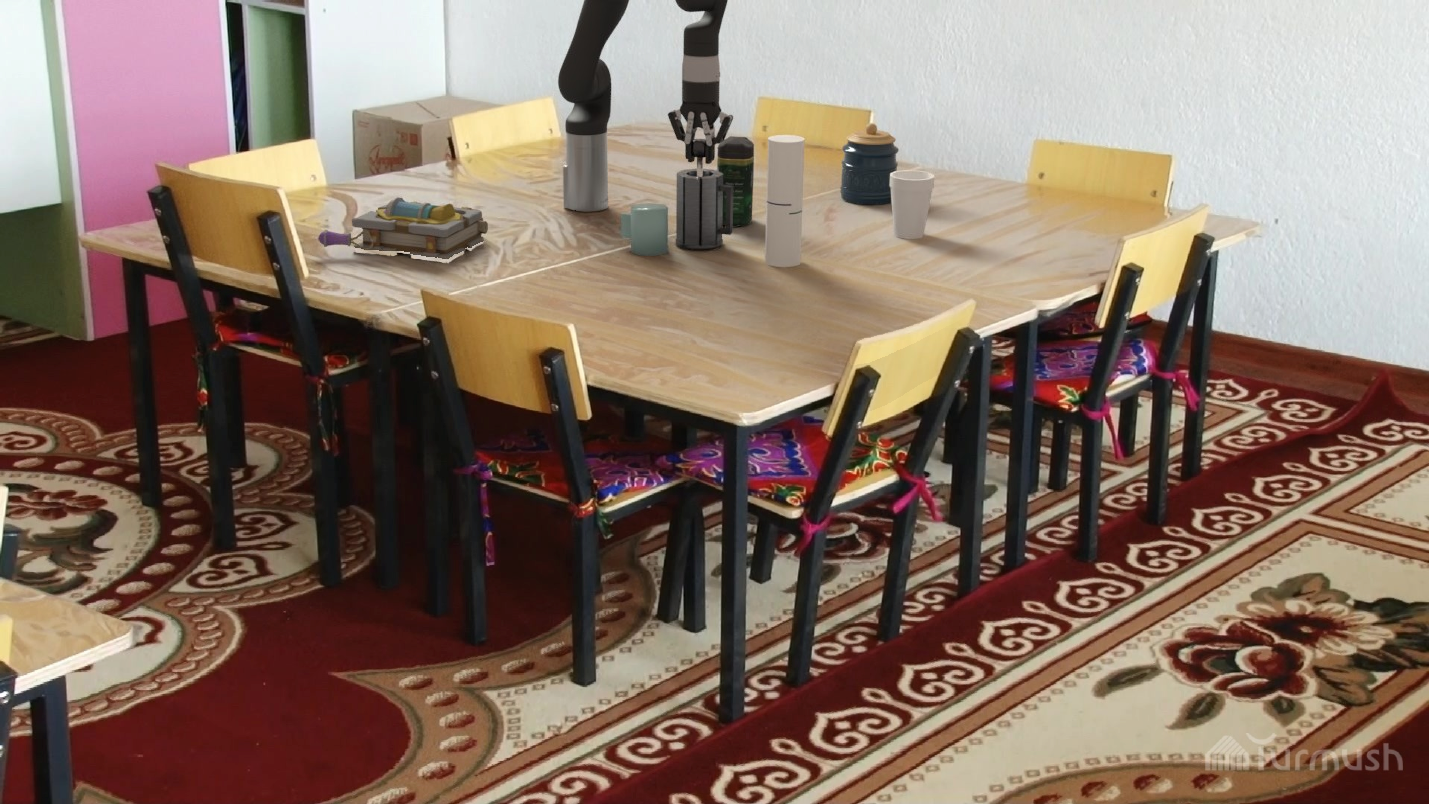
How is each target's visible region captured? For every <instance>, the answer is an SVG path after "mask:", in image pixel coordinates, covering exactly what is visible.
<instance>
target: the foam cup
mask: <svg viewBox="0 0 1429 804" xmlns="http://www.w3.org/2000/svg"><path fill="white" fill-rule="evenodd" d="M934 187H935V175H934V173H931V172H928V171H922V170H916V169H915V170H914V169H913V170H911V169H910V170H909V169H908V170H907V169H905V170H897V171H894V172H892V173H890V188H891V201H892V202H891V210H892V211H891V212H892V224H893V225H892V226H893V227H892V228H893V235H894V236H895V237H896V238H901V239H904V240H905V239H908V240H914V239H915V240H917V239H921V238H923V237H924V234H925V229H926V225H927V219H928V215H929V209H930V205H931V198H932V194H933V189H934Z"/></svg>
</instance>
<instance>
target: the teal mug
mask: <svg viewBox="0 0 1429 804" xmlns="http://www.w3.org/2000/svg"><path fill="white" fill-rule="evenodd" d="M620 235H621V236H620V238H622V239H630V252H631V253H632V254H635V255H639V256H644V257H645V256H646V257H647V256H649V257H650V256H651V257H655V256H662V255H664V254H667V253H668V251H669V208H668V206H667V205H665V204H662V203H654V202H653V203H648V202H647V203H645V202H643V203H636V204H634V205H631V207H630V213H629V212H621V213H620Z"/></svg>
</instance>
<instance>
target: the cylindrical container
mask: <svg viewBox="0 0 1429 804" xmlns="http://www.w3.org/2000/svg"><path fill="white" fill-rule="evenodd" d="M805 143H806V141H805V137H803V136H800V135H799V136H798V135H793V134H778V135H777V134H776V135H771V136H769V137H768V138H767V166H766V167H767V168H766V169H767V171H766V172H767V173H766V200H765V201H766V205H765V206H766V209H765V212H766V213H765V214H766V215H765V241H764V242H765V249H764V263H765V264H766V265H768V266H771V267H777V268H791V267H792V268H793V267H796V266H799V265H801V261H802V257H801V256H802V230H803V229H802V227H803V226H802V225H803V199H804V198H803V197H804V194H803V193H804V170H805Z"/></svg>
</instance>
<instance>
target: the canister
mask: <svg viewBox="0 0 1429 804" xmlns="http://www.w3.org/2000/svg"><path fill="white" fill-rule="evenodd" d="M845 139H846V141H847V143H846V144H844V145H842V147H841V148H842V149H841V150H842V151H843V152H844V153H843V159H842V160H841V181H840V182H841V184H840V198H841V199H842V200H843V201H845V202H848V203H851V204H856V205H857V204H858V205H868V206H870V205H875V206H876V205H884V204H889V203H892V201H891V188H890V173H892V172H894V171H898V166H899V164H898V161H897V154H898V153H899V152H900V151H899V150H900V149H899V148H898V147H897V146H896V145H895V144H894V143H895V142H896V138H895V137H894V136H892V135H891V134H890V132H887V131H884V130H879V129H878V127H877V125H876V124H875V123H873V122H871V123H870V122H869V123H868V124H866V126H865V129H860V130H856V131H855V130H854V131H853V132H852V133H851V134H849V135H847V136H846V138H845Z"/></svg>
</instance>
